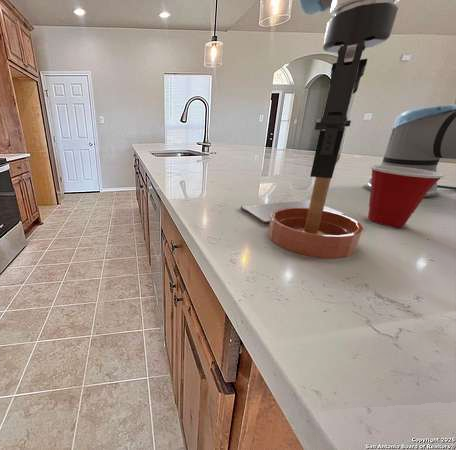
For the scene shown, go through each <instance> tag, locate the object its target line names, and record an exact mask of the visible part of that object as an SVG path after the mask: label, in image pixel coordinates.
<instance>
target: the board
mask: <svg viewBox="0 0 456 450" xmlns="http://www.w3.org/2000/svg"><path fill="white" fill-rule="evenodd" d="M310 201H311V199H309V200H308V199H307V200H298V201H286V202H273V203H262V204H252V205H251V204H250V205H241V206H240V210H242V211H243V212H245V213H246V214H248V215H250V216H251V217H252V218H254V219H255V220H257V221H258V222H259V223H261V224H262V225H270V219H271V214H272V213H273V212H274V211H276V210H279V209H283V208H309V205H310ZM323 210H326V211H331V212H334V213H338V214H342V215H344V216H346V213H344V212H342V211H339V210H337V209H334V208H332V207H329V206H326V205H324V209H323Z"/></svg>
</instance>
